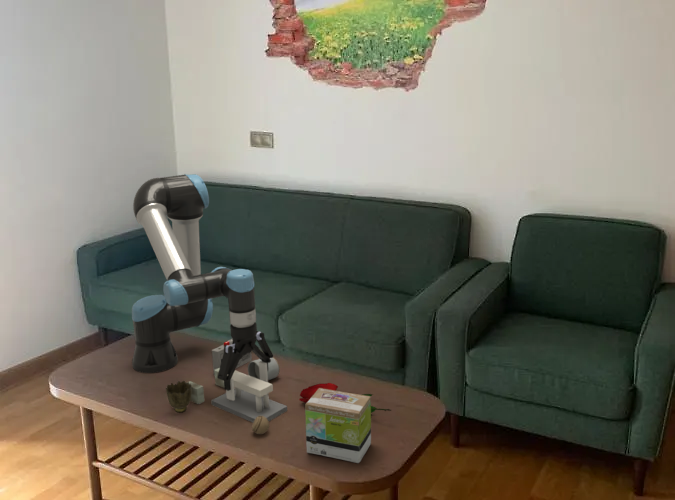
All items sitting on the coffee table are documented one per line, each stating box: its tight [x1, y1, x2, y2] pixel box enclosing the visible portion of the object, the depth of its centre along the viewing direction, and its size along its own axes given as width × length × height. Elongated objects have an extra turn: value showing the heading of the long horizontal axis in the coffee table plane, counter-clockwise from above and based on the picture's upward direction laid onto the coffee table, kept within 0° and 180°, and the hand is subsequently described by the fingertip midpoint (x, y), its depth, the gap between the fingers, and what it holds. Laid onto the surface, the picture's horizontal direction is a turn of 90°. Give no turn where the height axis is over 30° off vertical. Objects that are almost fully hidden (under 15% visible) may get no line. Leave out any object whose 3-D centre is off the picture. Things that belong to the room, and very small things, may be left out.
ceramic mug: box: [247, 356, 281, 381], centre depth 225 cm, size 11×8×8 cm
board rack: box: [186, 368, 224, 405], centre depth 217 cm, size 6×14×5 cm, turn 140°
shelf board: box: [223, 369, 274, 397], centre depth 205 cm, size 16×5×2 cm, turn 51°
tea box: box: [304, 388, 372, 464], centre depth 182 cm, size 15×10×15 cm, turn 69°
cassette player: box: [211, 338, 253, 376], centre depth 234 cm, size 16×3×10 cm, turn 144°
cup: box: [165, 380, 192, 414], centre depth 206 cm, size 8×7×8 cm
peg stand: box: [210, 387, 288, 424], centre depth 206 cm, size 21×11×7 cm, turn 51°
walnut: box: [251, 416, 270, 435], centre depth 193 cm, size 5×5×5 cm
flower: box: [298, 382, 392, 414], centre depth 202 cm, size 9×10×30 cm
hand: (247, 390), depth 206 cm, fingers open, 13 cm apart
